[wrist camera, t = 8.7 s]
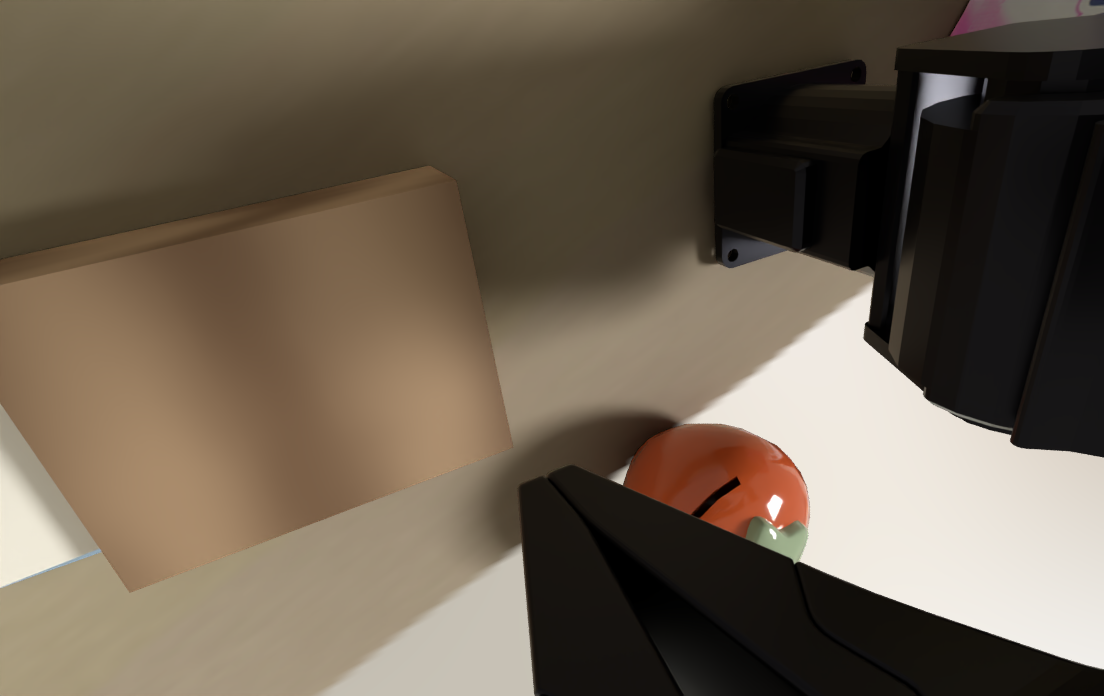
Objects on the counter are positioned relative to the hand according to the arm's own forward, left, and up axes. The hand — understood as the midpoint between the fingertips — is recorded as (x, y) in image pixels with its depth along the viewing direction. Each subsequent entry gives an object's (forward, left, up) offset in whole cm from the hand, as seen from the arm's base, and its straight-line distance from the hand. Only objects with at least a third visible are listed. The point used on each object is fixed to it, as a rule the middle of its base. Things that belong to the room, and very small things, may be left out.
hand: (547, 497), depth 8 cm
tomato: (-9, +12, -12) cm, 19 cm away
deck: (+4, +1, -12) cm, 13 cm away
